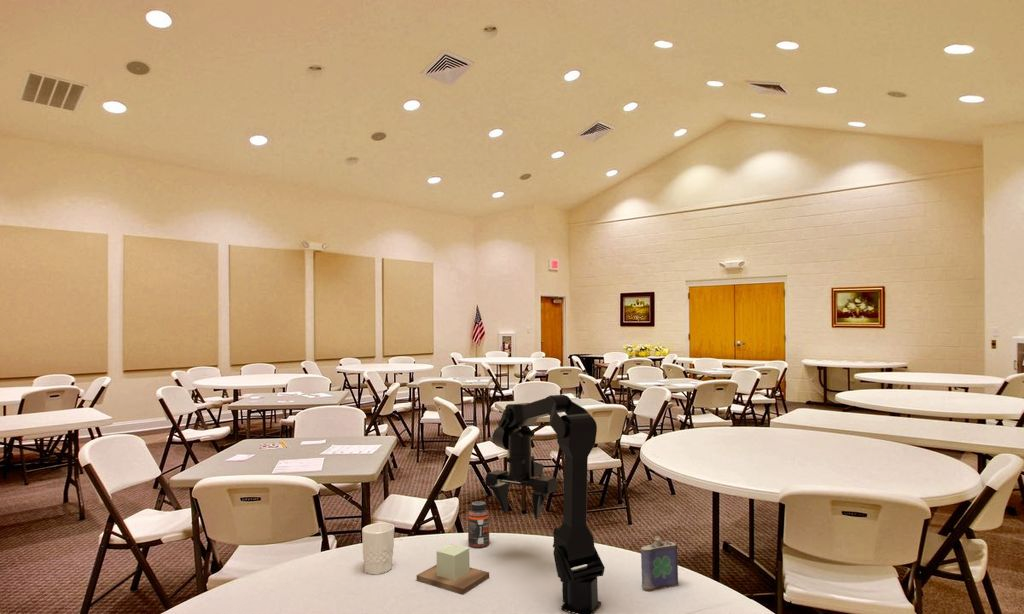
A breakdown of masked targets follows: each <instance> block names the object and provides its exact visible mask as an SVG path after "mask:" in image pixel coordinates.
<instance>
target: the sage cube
mask: <svg viewBox="0 0 1024 614" xmlns="http://www.w3.org/2000/svg"><path fill="white" fill-rule="evenodd" d="M436 565H437V576H440V577H444V578H447V579H451V580H454V581H455V580H457V579H459V578H460V577H462V576H464V575H465V574H467V573H469V572H470V548H469V547H466V546H461V545H458V544H453V543H451V544H449V545H447V546H445V547H442V548H440V549H439V550H436Z"/></svg>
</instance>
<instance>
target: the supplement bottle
mask: <svg viewBox="0 0 1024 614" xmlns="http://www.w3.org/2000/svg"><path fill="white" fill-rule="evenodd" d="M486 504H487V503H486V502H485V501H482V500H480V501H472V502H471V509H469V511H468V514H467V518H468V519H467V521H468V522H467V526H468V527H467V528H468V529H467V530H468V531H467V532H468V533H467V534H468V535H467V539H468V541H467V543H468V545H469V546H470V547H472V548H476V549H477V548H478V549H479V548H485V547H487V546H489V544H490V512H489V510H487V505H486Z"/></svg>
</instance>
